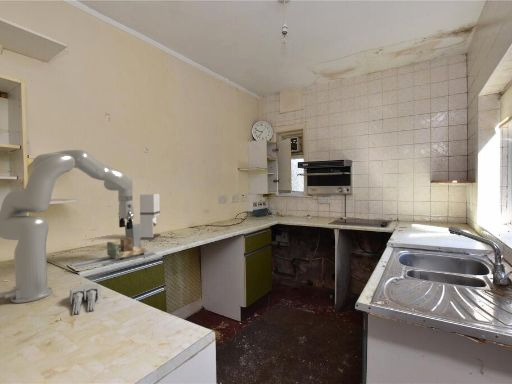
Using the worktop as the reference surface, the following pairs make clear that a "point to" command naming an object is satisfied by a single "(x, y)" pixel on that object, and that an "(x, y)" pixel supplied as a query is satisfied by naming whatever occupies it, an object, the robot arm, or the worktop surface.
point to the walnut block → (126, 244)
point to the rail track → (109, 260)
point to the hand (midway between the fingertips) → (125, 227)
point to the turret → (84, 297)
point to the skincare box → (134, 234)
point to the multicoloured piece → (117, 253)
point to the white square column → (149, 215)
